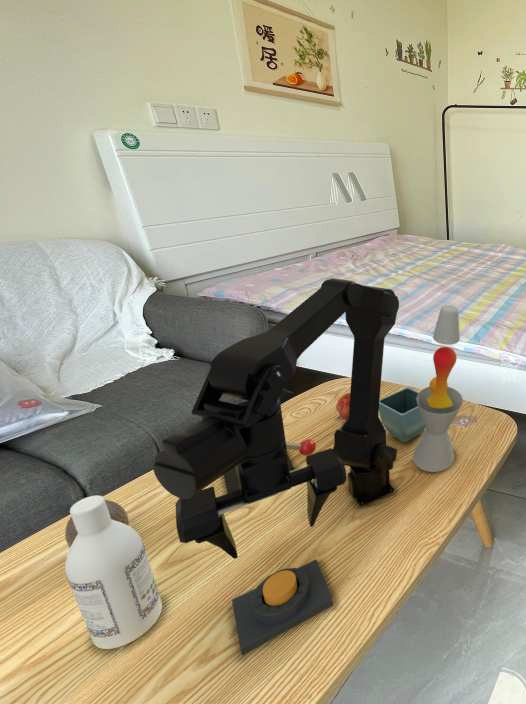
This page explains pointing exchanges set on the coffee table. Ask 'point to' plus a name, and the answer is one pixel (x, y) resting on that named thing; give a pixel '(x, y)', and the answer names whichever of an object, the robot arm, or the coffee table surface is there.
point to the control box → (280, 608)
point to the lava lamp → (439, 398)
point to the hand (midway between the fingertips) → (275, 539)
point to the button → (280, 588)
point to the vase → (115, 514)
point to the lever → (303, 447)
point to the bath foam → (110, 576)
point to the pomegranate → (343, 406)
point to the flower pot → (401, 414)
